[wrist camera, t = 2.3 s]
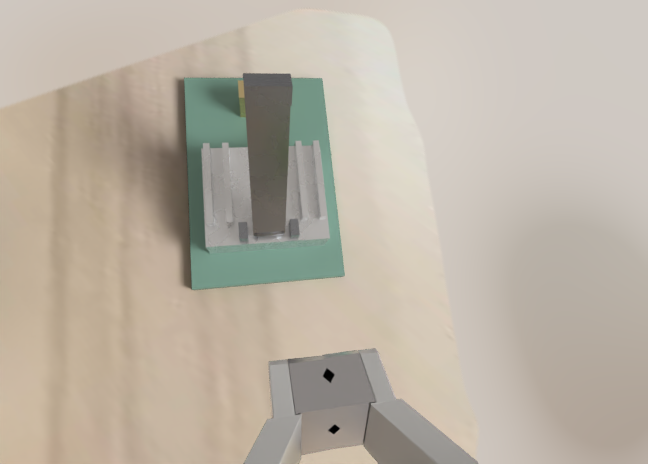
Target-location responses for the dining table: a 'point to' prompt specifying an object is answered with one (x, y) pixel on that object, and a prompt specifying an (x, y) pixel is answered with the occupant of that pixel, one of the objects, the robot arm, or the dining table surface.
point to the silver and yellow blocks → (235, 198)
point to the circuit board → (229, 127)
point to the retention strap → (268, 148)
